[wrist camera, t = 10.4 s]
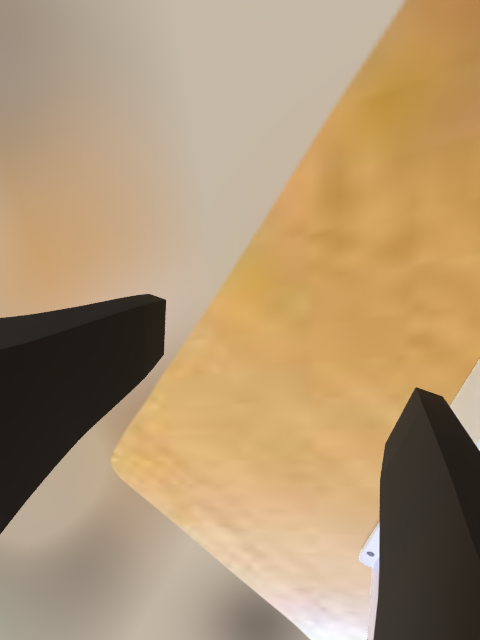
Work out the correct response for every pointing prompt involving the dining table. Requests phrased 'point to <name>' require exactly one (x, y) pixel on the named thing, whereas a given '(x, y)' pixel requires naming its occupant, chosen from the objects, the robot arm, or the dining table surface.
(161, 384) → the dining table surface
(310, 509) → the dining table surface
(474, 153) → the dining table surface
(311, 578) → the dining table surface
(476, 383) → the bore box
